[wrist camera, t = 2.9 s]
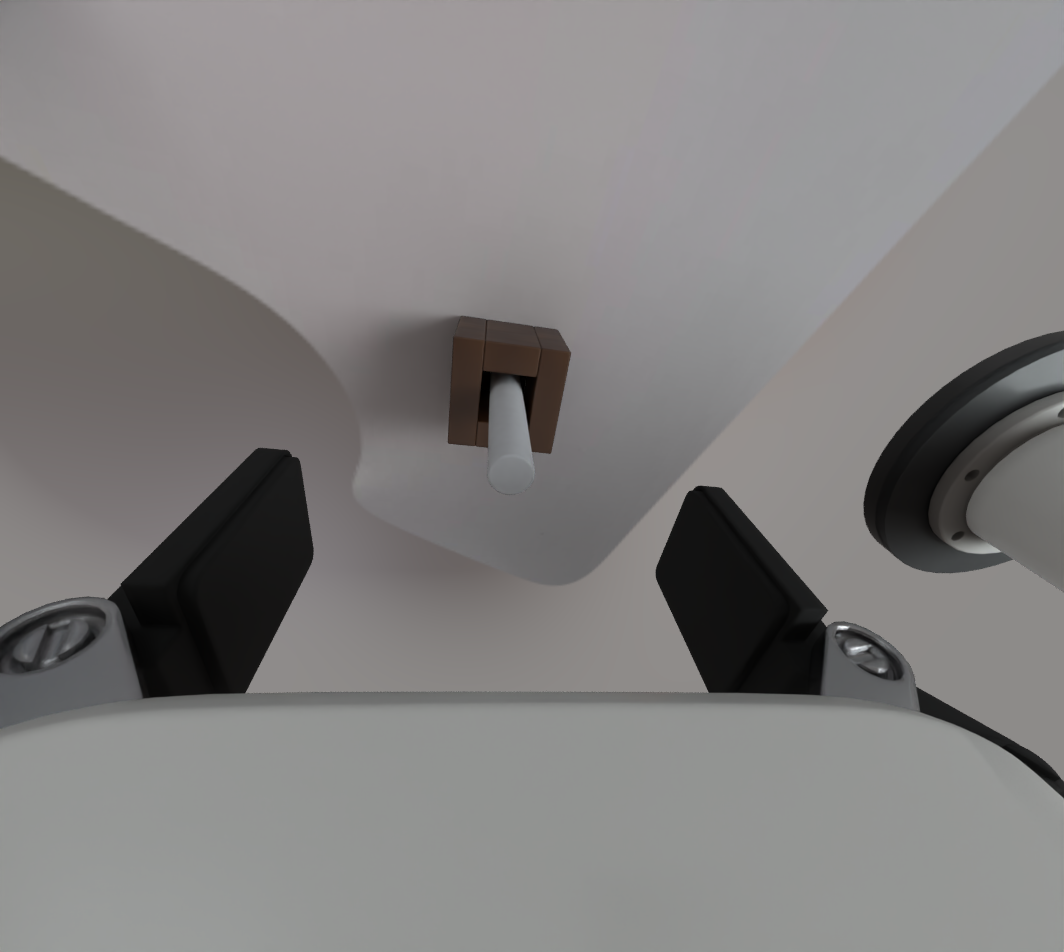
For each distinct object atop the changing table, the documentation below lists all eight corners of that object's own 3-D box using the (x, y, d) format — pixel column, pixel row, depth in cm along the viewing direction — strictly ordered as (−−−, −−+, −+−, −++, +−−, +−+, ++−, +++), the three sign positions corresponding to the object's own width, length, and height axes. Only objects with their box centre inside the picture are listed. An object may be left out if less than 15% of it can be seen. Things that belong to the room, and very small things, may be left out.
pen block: (558, 329, 20) (571, 352, 16) (542, 418, 22) (551, 454, 19) (460, 315, 19) (453, 336, 16) (455, 408, 21) (447, 444, 18)
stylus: (520, 358, 20) (539, 457, 12) (516, 385, 21) (531, 497, 13) (492, 354, 20) (489, 452, 12) (489, 382, 21) (485, 494, 12)
